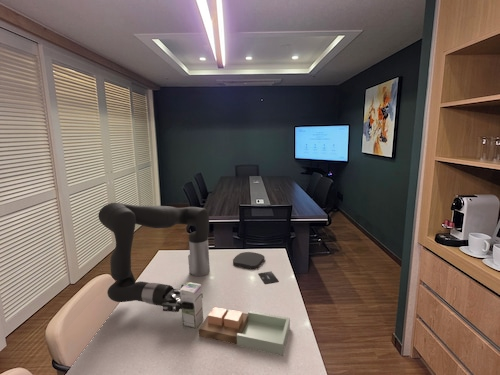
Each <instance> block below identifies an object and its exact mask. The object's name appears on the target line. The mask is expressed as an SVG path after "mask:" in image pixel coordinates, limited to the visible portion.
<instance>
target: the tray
mask: <svg viewBox="0 0 500 375" xmlns="http://www.w3.org/2000/svg"><path fill="white" fill-rule="evenodd" d="M247 314H248V323H247V325H246V327H245V329H244V331H243V333H242V334H240V333H237V345H236V346H237V347H239V348H240V347H241V348H245V349H251V350H255V351H259V352H264V353H267V354H272V355H278V356H282V357H283V356H284V353H285V352H284V351H285V349H286V344H287V340H288V337H289V333H290V328H291V327H290V326H291V324H290V323H291V322H290V321H291V319H290V317H286V316H280V315H275V314H270V313H263V312H257V311H253V310H252V311H251V310H248V311H247Z"/></svg>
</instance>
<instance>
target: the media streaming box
mask: <svg viewBox="0 0 500 375" xmlns="http://www.w3.org/2000/svg"><path fill="white" fill-rule="evenodd" d="M265 258H266V257H265V256H264V254H261V253H258V252H253V251H246V252H245V251H243V252H239V254H237V255H236V256H234V258H233V259H232V265H233V266H234V267H236V268H237V267H238V268H241V269H247V270H257V269H259V268H260V267H261V266H262V265H263V264H264V262H265Z"/></svg>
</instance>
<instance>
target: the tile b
mask: <svg viewBox="0 0 500 375" xmlns="http://www.w3.org/2000/svg"><path fill="white" fill-rule="evenodd" d="M242 320H243V311H238V310H232V309H228V313H227V314H226V316H225V318H224V326H225V327H230V328H235V329H238V328H239V326H240V324H241V322H242Z"/></svg>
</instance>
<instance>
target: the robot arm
mask: <svg viewBox="0 0 500 375" xmlns="http://www.w3.org/2000/svg"><path fill="white" fill-rule="evenodd" d="M97 216H98V220H99V221H100V223H101V224H102V225H103V226H104V227H105V228H107V229H108V230H109V231H110V232H112V233H113V235H114V238H115V248H114V249H113V250H112V253H111V255H110V263H109V264H110V274H111V278H112V279H113V280H115V281H114V282H113V283H112V284H111V285H110V286H109V287H108V289H107V296H108V298H109V299H110V300H112V302H116V303H126V302H133V301H137V302H142V303H145V304H149V305H154V306H158V307H161V308H162V312H171V313H179V312H180V310H182V309H189V310H190V309H191V310H193V309H194V304H193V303H190V302H185V301H184V302H183V301H182V300H181V297H180V289H181V288H182V287H183V286H184V285H185V284H181V285H180V288H174V287H173V286H172V285H170V284H163V283H159V282H158V283H157V282H147V281H136V278H135V276H134V274H133V270H132V259H131V258H132V257H131V256H132V255H131V254H132V246H133V240H134V234H135V229H136V225H138V226H142V227H143V226H144V227H146V228H152V229H168V228H172V227H174V226H175V225H186V226H192V227H195V231H193V232H190V233H189V235H188V246H189V254H188V256H187V257H188V258H187V259H188V271H189V272H188V274H190V275H192V276H194V277H204V276H206V275H208V274H210V272H211V271H210V269H211V268H210V254H209V253H210V252H209V249H210V248H209V233H210V215H209V211H208V209H206V208H205V207H197V206H187V207H186V206H185V207H175V206H167V205H135V204H134V205H133V204H127V203H123V202H122V203H121V202H110V203H108V204H106V205H103V207H101V208H100V210H99V212H98V215H97ZM202 299H203V295H202Z"/></svg>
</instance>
